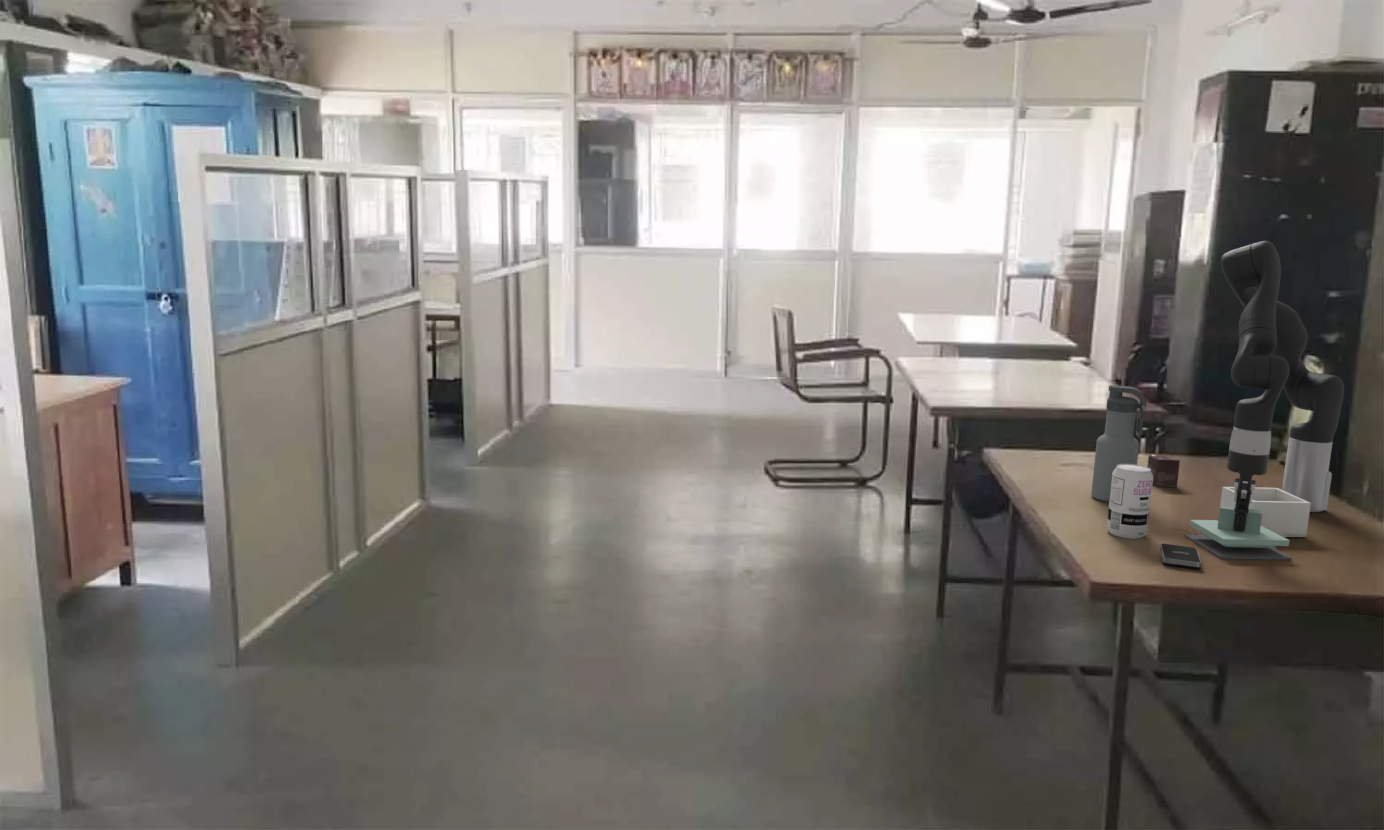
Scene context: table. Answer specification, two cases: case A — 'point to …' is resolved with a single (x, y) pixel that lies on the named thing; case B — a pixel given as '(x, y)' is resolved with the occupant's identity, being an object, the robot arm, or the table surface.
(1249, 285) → the robot arm
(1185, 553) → the external hard drive
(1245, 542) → the lid
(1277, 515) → the storage box
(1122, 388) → the water bottle
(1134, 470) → the supplement can
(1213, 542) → the mat
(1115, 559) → the table surface
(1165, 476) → the box
